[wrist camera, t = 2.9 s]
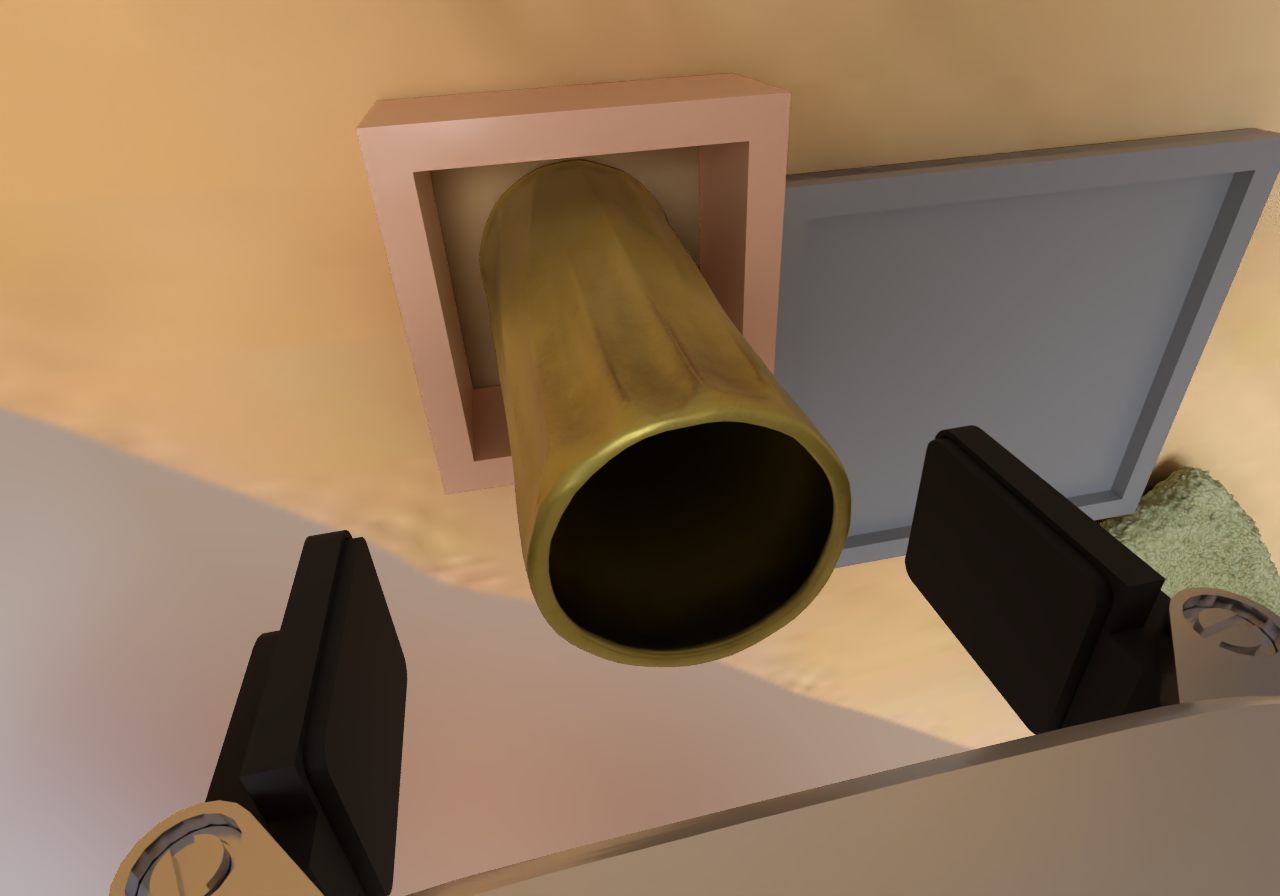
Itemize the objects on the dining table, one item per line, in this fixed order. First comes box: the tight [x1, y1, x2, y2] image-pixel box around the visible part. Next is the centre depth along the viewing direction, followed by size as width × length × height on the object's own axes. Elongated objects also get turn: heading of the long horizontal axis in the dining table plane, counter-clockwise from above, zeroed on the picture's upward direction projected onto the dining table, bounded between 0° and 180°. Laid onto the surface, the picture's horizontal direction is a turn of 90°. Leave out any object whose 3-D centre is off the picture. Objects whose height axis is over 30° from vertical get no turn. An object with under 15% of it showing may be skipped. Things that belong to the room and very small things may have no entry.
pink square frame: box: [355, 73, 791, 495], centre depth 21 cm, size 10×10×4 cm
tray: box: [774, 128, 1280, 568], centre depth 28 cm, size 18×16×2 cm
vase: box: [479, 160, 851, 667], centre depth 17 cm, size 6×6×14 cm
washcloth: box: [1100, 466, 1280, 616], centre depth 37 cm, size 13×18×3 cm
